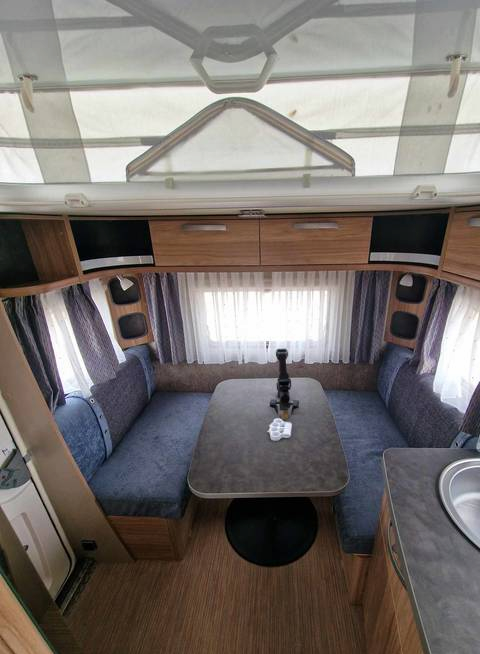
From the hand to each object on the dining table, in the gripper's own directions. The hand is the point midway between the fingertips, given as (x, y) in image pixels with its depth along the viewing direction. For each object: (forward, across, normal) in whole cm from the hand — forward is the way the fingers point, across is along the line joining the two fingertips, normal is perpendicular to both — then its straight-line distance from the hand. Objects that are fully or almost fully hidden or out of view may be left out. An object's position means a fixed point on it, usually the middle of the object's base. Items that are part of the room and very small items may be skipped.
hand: (284, 414), depth 188 cm
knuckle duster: (+2, -2, -15) cm, 15 cm away
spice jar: (+2, 0, 0) cm, 2 cm away
